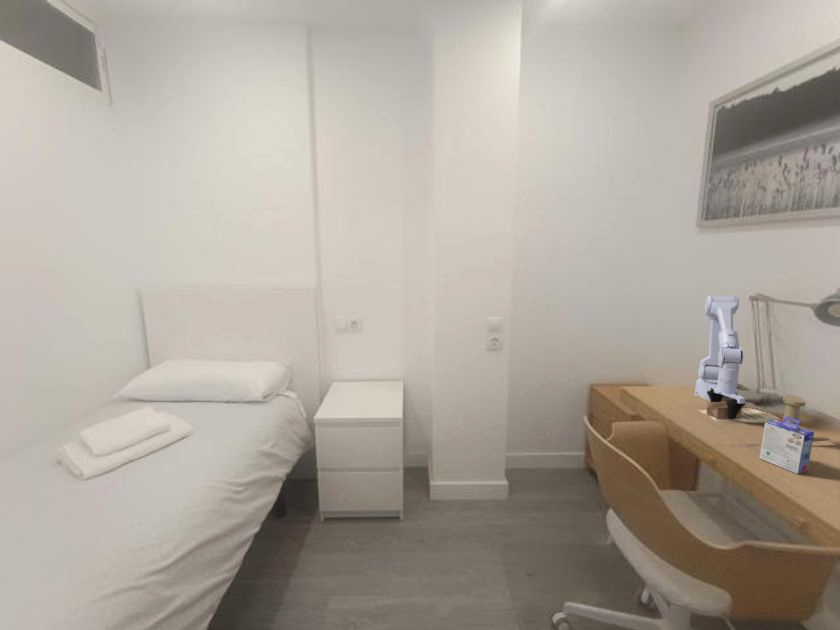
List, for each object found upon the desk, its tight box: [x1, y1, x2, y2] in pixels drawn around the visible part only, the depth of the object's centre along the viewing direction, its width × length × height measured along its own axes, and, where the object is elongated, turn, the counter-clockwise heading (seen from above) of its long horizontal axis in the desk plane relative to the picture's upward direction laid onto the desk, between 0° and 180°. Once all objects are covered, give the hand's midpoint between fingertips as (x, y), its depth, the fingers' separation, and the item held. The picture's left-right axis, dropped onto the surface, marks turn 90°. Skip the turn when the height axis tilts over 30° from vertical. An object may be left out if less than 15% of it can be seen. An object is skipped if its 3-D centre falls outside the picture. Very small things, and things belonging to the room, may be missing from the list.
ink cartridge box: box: [759, 416, 815, 475], centre depth 118 cm, size 10×6×14 cm, turn 24°
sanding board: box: [697, 407, 783, 425], centre depth 149 cm, size 16×28×2 cm, turn 92°
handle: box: [782, 394, 807, 424], centre depth 131 cm, size 5×6×15 cm
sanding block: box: [706, 401, 743, 419], centre depth 148 cm, size 5×9×4 cm, turn 92°
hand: (723, 414), depth 149 cm, fingers open, 7 cm apart
